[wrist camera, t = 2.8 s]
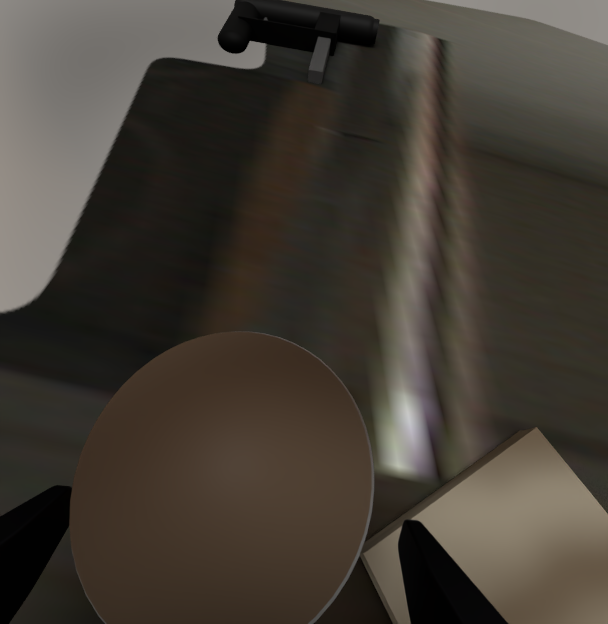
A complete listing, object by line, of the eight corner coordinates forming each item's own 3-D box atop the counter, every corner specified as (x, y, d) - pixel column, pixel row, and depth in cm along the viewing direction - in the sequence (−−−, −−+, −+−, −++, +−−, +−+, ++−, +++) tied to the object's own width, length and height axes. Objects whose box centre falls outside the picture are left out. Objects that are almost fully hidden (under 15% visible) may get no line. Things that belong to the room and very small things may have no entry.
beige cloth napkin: (712, 677, 14) (756, 695, 13) (542, 926, 11) (578, 987, 10) (518, 431, 19) (536, 427, 18) (356, 548, 16) (363, 553, 14)
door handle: (373, 73, 36) (381, 9, 43) (202, 42, 36) (238, -16, 43) (366, 103, 39) (374, 39, 46) (208, 75, 39) (240, 15, 46)
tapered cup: (328, 504, 16) (438, 534, 5) (228, 568, 14) (99, 797, 4) (282, 408, 18) (294, 293, 7) (191, 455, 16) (40, 394, 6)
